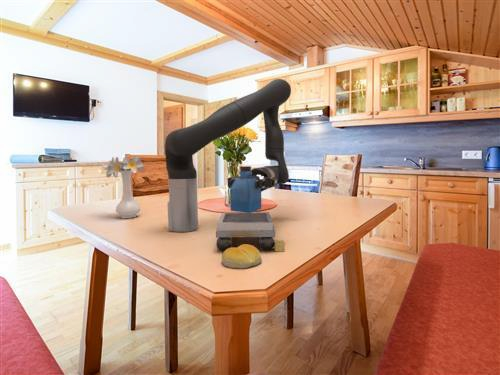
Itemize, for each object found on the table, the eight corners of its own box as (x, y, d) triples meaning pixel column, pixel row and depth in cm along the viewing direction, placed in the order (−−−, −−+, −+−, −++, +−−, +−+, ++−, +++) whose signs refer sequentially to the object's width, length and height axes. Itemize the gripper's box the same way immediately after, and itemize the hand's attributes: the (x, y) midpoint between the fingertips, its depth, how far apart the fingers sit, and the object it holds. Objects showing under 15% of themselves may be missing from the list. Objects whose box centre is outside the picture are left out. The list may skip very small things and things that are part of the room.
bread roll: (216, 261, 68) (215, 245, 67) (248, 254, 72) (248, 239, 72) (232, 273, 61) (232, 255, 60) (267, 264, 66) (267, 247, 65)
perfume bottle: (249, 213, 76) (249, 167, 74) (230, 210, 79) (229, 167, 77) (261, 208, 81) (260, 166, 79) (242, 206, 84) (242, 165, 83)
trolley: (216, 252, 73) (215, 223, 73) (221, 236, 88) (221, 212, 87) (284, 251, 73) (284, 223, 73) (278, 235, 88) (278, 211, 88)
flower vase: (119, 213, 126) (116, 155, 124) (155, 215, 121) (153, 155, 118) (95, 219, 114) (91, 155, 111) (135, 222, 109) (131, 155, 106)
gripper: (240, 167, 94) (218, 170, 79) (283, 167, 90) (268, 170, 74) (240, 189, 95) (218, 197, 80) (283, 191, 90) (268, 199, 75)
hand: (242, 184), depth 77 cm, fingers closed on perfume bottle, 7 cm apart
